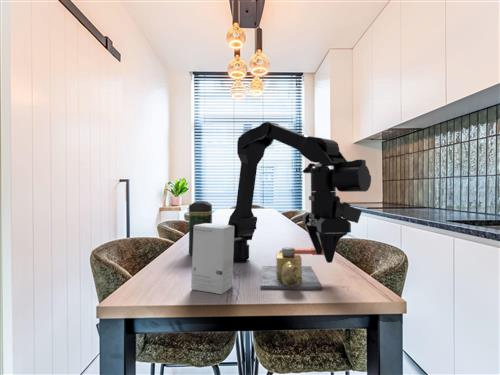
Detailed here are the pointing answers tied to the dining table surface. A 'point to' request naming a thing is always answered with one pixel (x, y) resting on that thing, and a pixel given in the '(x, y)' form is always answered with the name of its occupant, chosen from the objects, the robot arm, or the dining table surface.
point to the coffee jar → (198, 218)
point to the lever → (298, 251)
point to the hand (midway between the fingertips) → (323, 258)
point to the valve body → (289, 274)
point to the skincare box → (212, 257)
